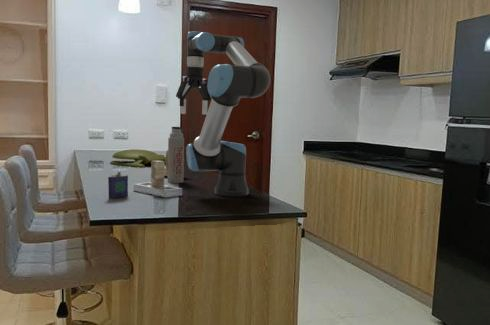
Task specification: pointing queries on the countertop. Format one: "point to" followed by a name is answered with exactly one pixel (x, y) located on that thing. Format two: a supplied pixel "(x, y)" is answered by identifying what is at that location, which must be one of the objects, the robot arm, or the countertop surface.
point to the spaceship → (137, 157)
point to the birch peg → (157, 173)
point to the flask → (118, 186)
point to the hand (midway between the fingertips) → (194, 114)
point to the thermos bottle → (175, 156)
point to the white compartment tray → (158, 190)
